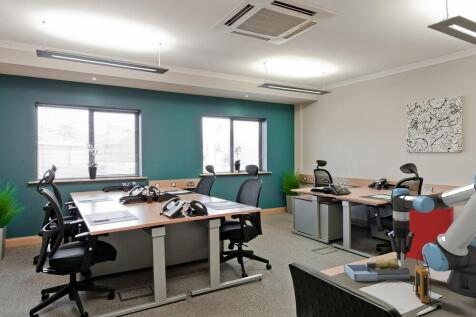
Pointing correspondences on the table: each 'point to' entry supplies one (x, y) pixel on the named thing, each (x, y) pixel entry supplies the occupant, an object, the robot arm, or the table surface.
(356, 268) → the tray
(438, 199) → the robot arm
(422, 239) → the book
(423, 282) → the multimeter
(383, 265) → the brass block
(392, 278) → the slotted deck
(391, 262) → the brass block
